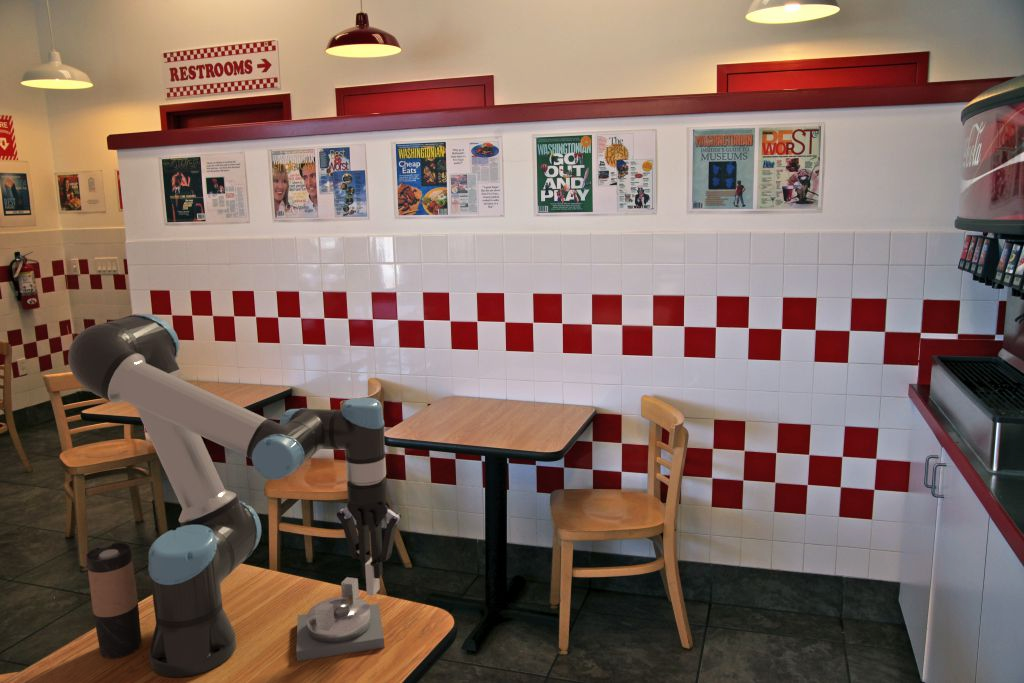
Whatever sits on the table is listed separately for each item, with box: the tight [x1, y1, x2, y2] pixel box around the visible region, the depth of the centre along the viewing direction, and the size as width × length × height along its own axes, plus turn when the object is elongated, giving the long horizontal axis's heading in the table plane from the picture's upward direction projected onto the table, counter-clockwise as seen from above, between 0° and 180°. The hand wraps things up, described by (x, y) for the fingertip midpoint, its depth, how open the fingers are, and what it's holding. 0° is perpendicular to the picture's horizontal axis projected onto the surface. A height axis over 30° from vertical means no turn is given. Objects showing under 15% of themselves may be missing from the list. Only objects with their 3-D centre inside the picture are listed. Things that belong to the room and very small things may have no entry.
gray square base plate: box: [295, 603, 385, 662], centre depth 153 cm, size 16×13×3 cm
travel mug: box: [86, 542, 142, 659], centre depth 149 cm, size 8×8×20 cm
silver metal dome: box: [306, 576, 371, 642], centre depth 153 cm, size 12×12×7 cm
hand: (373, 591), depth 156 cm, fingers closed
